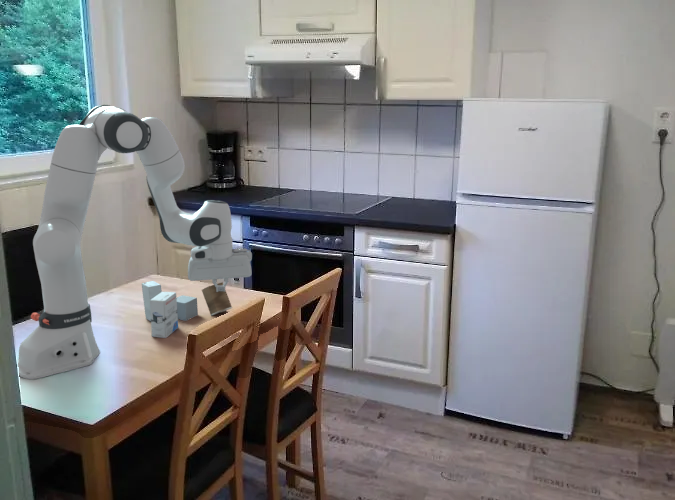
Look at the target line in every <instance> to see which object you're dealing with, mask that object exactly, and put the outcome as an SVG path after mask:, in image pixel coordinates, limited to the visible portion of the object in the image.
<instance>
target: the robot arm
mask: <svg viewBox="0 0 675 500" xmlns="http://www.w3.org/2000/svg"><path fill="white" fill-rule="evenodd" d="M107 149H109V150H110V151H114V152H116V153H119V154H130V153H131V154H132V153H135V152H136V154H138V155H137V156H138V158H139V160H140V163H141V164H142V167H143V168H144V170H145V173H146V184H147V188H148V191H149V193H150V196H151V199H152V201H153V204H154V207H155V209H156V212H157V215H158V218H159V228H160V233H161V234H162V236H163V238H164V239H165V240H166V241H167V242H170V243H175V244H176V243H177V244H183V245H187V246H192V249H191V250H190V258H189V260H188V265H187V278H188V280H189V281H192V282H193V281H209V280H212V285H215V287H216V292H225V290H226V286H227V285H228V283H229V279H238V278H239V279H240V278H250V277H251V276H252V266H251V261H252V260H253V253H252V252H251V250H250V249H247V248H233V246H234V245H233V237H232V233H231V232H232V228H233V225H232V214H231V208H230V205H229V204H228V203H227V202H226V201H223V200H215V199H207V200H204V202H203V205H202V206H201V207H200V208H199V209H198V210H197V211H195V212H194V213H191V212H190V213H189V212H185V211H183V210H181V209H180V208H179V206H178V205H177V201H176V200H175V199H176V198H175V196H174V193H173V191H172V187H171V186H172V185H173V184H175V183H176V182H177V181H178V180H179V179H181V177H182V176H183V174H184V172H185V169H186V165H185V160H184V157H183V155H182V152H181V150H180V148H179V145H178V144H177V141H176V139H175V137H174V136H173V134H172V133H171V131H170V129H169V128H168V127H167V125H166V123H165V122H164V121H163V120H161V118H158V117H155V116H148V117H144V118H142V119H141V118H140V117H138V116H137V115H135V114H134V113H131V112H128V111H126V110H125V109H124V108H121V107H117V106H113V105H110V104H101V105H100V104H99V105H97V106H94V107H93V108H91V109H90V110H89V111H88V113H87V114H86V116H85V117H84V118H83V119H82V120H81V121H80V122H79V124H71V125H67V126H65V127H64V128H63V129H62V130H61V132H60V133H59V136H58V139H57V141H56V143H55V147H54V150H53V153H52V155H51V159H50V160H51V161H50V166H49V170H48V174H47V180H46V185H45V190H44V194H43V202H42V209H41V213H40V217H39V224H38V227H37V231H35V232H36V233H35V234H34V236H33V239H32V246H33V253H34V259H35V263H36V268H37V271H38V272H37V273H38V276H39V281H40V284H41V285H40V286H41V294H42V301H43V302H42V303H43V310H42V313H38V312H32V313H31V315H30V319H32V320H33V321H35V322H38V326H37V327H36V328H35V329H34V330H33V331H32V332H31V333H30V334H29V335H28V336H27V337H26V338H25V339H24V340H23V341H22V342H21V343H20V345H19V348H18V367H19V375H20V376H19V377H21V378H24V379H27V380H28V379H30V380H36V379H42V378H44V377H48V376H53V375H56V374H60V373H65V372H67V371H71V370H75V369H79V368H83V367H86V366H87V367H88V366H91V365H92V364H93V362H94V359H96V358H97V357H98V356H99V355H100V352H101V351H100V347H99V346H98V344H97V341H96V338H95V336H94V335H95V334H94V331H93V327H92V310H91V305H90V303H89V301H88V300H89V299H88V290H87V280H86V274H85V270H84V269H85V268H84V264H83V257H82V247H81V245H82V244H81V243H82V237H83V233H84V228H85V223H86V219H87V214H88V210H89V206H90V201H91V197H92V192H93V187H94V183H95V181H96V180H95V179H96V173H97V169H98V163H99V161H100V158H101V156H102V155H103V154H104V152H105V151H106V150H107ZM217 280H223V285H217V284H218V283H217Z"/></svg>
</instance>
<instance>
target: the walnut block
mask: <svg viewBox="0 0 675 500" xmlns="http://www.w3.org/2000/svg"><path fill="white" fill-rule="evenodd" d="M223 284H224V281H222V282H219V283H217V285H223ZM201 292H202V295H203V297H204V300H205V303H206V306H207V309H208V311H209V314H210V316H215V315H217V314H219V313H224V312H226V311H228V310H230V309H232V308H233V306H232V303H231V302H230V298H229V296H228V293H227V290H226V289H225V292H216V287H215V285H214V284H212V285H209V286H207V287H204V288H202V289H201Z"/></svg>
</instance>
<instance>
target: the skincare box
mask: <svg viewBox="0 0 675 500" xmlns="http://www.w3.org/2000/svg"><path fill="white" fill-rule="evenodd" d="M141 289H142V299H143V307H144V314H145V315H144V316H145V319H146V320H148V321H149V322H151V312H150V300H151V299H152V298H154V297H155V296H157V295H158V294H160V293H161V292H163V290H162V285H161V284H160V283H158V282H156V281H155V280H151V281H145V282H142V283H141Z"/></svg>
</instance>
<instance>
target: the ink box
mask: <svg viewBox="0 0 675 500" xmlns="http://www.w3.org/2000/svg"><path fill="white" fill-rule="evenodd" d="M150 312H151V321H150V327H151V328H150V329H151V337H154V338H163V339H166V338H168V337H169V336H170V335H171V334H173V333H174V332H175V331H176V330H177V329H178V328H179V319H178V315H177V292H176V291H162V292H161V293H160V294H158V295H157V296H155V297H154V298H152V299H151V300H150Z"/></svg>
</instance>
